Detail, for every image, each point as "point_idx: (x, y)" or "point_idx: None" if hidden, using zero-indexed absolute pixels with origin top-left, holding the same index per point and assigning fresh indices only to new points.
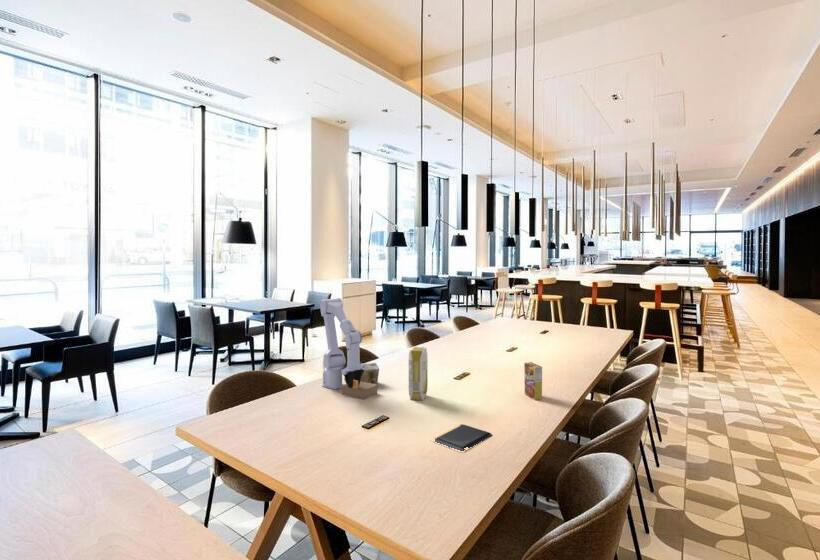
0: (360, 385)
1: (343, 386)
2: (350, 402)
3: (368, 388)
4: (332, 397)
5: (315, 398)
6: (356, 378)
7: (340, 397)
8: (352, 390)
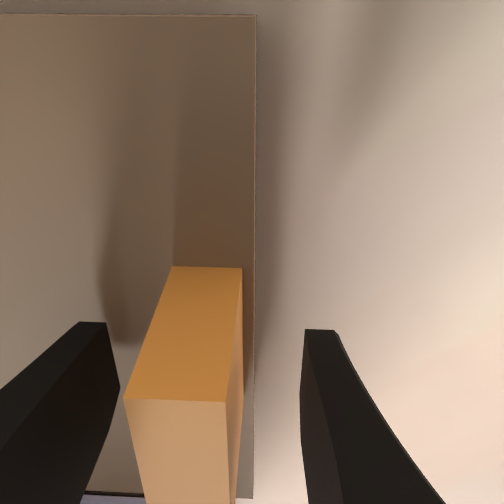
0: (32, 315)
1: (252, 472)
2: (500, 115)
3: (23, 25)
4: (402, 409)
5: (498, 495)
6: (49, 497)
7: (361, 349)
8: None
